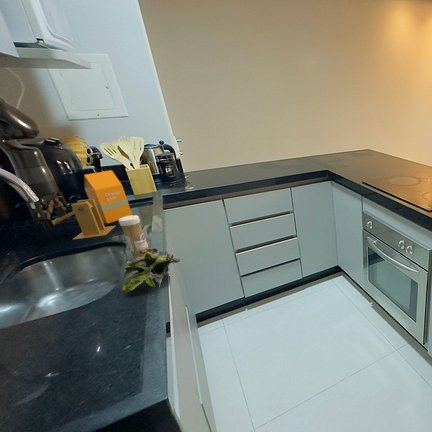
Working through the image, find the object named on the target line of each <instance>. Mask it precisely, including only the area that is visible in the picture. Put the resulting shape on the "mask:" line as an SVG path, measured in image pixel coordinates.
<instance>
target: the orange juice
mask: <svg viewBox="0 0 432 432" xmlns="http://www.w3.org/2000/svg"><path fill="white" fill-rule="evenodd" d="M83 176H84V177H83V180H84V181H83V182H84V191H85V193H86V195H87V198H88V200H89V199H94V200H95V203H96V205H97V208H98V210H99V213H100V215H101V218H102V221H103V223H104V224H110V223H113V222H116V221H119V219H120V218H122V217H126V216H131V215H133V212H132V210H131V206H130V204H129V201H128V198H127V195H126V192H125V188H124V187H123V184H122V182H121V181H120V180H119V178H118V177H117V176H116V174H115V173H114V171H113V170H112V169H109V170H104V171H103V170H102V171H99V172H92V173H86V174H84V175H83Z"/></svg>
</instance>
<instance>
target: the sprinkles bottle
mask: <svg viewBox="0 0 432 432" xmlns="http://www.w3.org/2000/svg"><path fill="white" fill-rule="evenodd" d="M118 223H119V226H120V227H121V229H122V232H123V235H124V238H125V241H126V243H127V246H128V249H129V251H130V253H131V256H132V261H134V259H136V258H137V257H141V256H143V257H144V255H143V254H141V253H139V252H140V251H144V250H145V251H146V249H150V248H149V244H148V242H147V238H146V235H145V234H144V230H143V228H142V225H141V219H140V217H139V215H137V214H132V215H131V216H126V217H122V218H120V219H119V220H118Z"/></svg>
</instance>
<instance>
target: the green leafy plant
mask: <svg viewBox="0 0 432 432" xmlns="http://www.w3.org/2000/svg"><path fill="white" fill-rule="evenodd" d="M139 253H141V254H143V255H144V257H143V256H141V257H137V258H136V259H134V260H132V261H127V262H126V264H127V266H124V267H122V269H123V270H124V273H123V274H122V279H125V278H126V277H127V276H129V275H130V274H132V275H130V276H129V277H128V278H127V279H126V281H125V282H124V283H123V285H122V288H121V292H122V293H124V294H125V293H129V292H132V291H133V290H136V289H137V287H139V286H140V285H142V283H144V282H145V283H146V284H147V285H148V286H149V287H151V288H156V284H155V283H154V280H155V282H156V283H157V284H158V288H157V290H158V291H159V290H160V287H161V284H162V281H163V278H164V277H165V273H167V272H169V271H170V269H169V266H170V264H176V263H180V261H181V259H180V258H176V257H174V254H170V253H169V251H165V252H164V251H160V252H159V249H158V248H157V247H155V248H149V249H146V251H145V250H144V251H140V252H139ZM153 279H154V280H153Z"/></svg>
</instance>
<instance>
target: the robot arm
mask: <svg viewBox="0 0 432 432" xmlns="http://www.w3.org/2000/svg"><path fill="white" fill-rule="evenodd" d="M40 134H41V128H40V126H39V124H38V123H37V122H36V121H35V119H33V118H32V117H31V116H29V115H28V114H26V113H25V112H24V111H22V110H20V108H17V107H15V106H14V105H12V104H11V103H9V102H8V101H6V100H5V99H4V98H3V97H2V96H1V95H0V149H1V150H2V151H3V152H4V154H6V156H7V157H8V159H9V161H10V163H11V165H12V167H13V170H14V172H15V176H16V178H17V177H18V178H20V179H21V180H22V181H23V182H25V183H26V184H27V185H28V186H29V187H30V188H31V190H32V191H33V192H34V193H35V194H36V196H37V197H38V198H39V202H35V203H34V202H28V203H27V204H26V205H27V208H28V211H29V213H30V215H31V217H32V219H33V222H41V224H42V227H43V229H44V231H45V232H52V231H55V230H56V226H55V225H54V224H53V222H52V221H53V220H52V219H51V215H52V214H53V211H55V213H56V216H57V218H60V217H62V216H64V215H66V214H67V212H66V211H67V208H69V205H68V203H67V201H66V198H65V197H64V195H63V193H62V191H60V189H59V187H58V185H57V182H56V180H55V178H54V176H53V174H52V171H51V169H50V168H49V166H48V165H47V162H46V160H45V158H44V155H43V153H42V151H41V149H39V148H38V147H33V146H27V145H22V144H21V143H19V142H18V141H20V140H34V139H37V138H38V137H39V136H40ZM18 178H17V179H18ZM69 220H70V218H69V217H68V218H66V219H64V220H62V221H61V222H60V223H65V222H69Z"/></svg>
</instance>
